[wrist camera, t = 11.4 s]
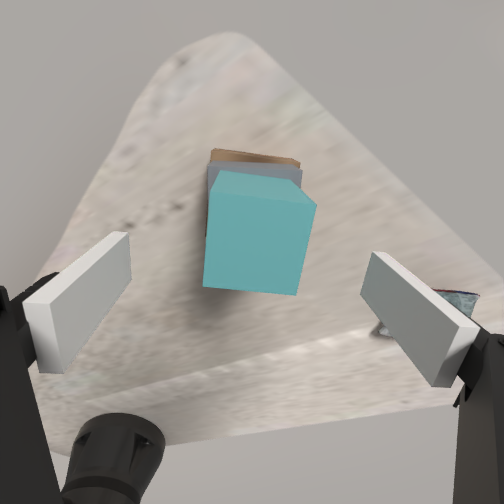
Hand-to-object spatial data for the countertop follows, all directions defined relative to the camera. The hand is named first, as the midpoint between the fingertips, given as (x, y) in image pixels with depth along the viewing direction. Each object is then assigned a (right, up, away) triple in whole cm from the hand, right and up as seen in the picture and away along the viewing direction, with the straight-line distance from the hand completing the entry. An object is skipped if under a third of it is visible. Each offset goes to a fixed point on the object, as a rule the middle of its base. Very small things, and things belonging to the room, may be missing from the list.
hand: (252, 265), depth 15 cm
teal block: (0, +5, +10) cm, 11 cm away
